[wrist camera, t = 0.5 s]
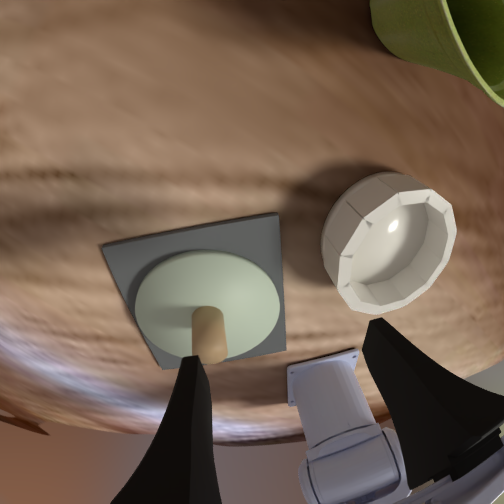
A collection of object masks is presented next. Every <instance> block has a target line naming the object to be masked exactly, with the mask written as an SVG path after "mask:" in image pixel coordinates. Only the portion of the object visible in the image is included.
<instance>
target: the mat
mask: <svg viewBox="0 0 504 504" xmlns="http://www.w3.org/2000/svg"><path fill="white" fill-rule="evenodd" d="M195 250H221V251H226V252H231V253H235V254H238V255H240V256H243V257H245V258H247V259H249V260H251V261H253V262H254V263H256V264H257V265H259V266H260V267H261V268H262V269H263V270H264V271H265V272H266V273H267V274H268V275H269V277H270V278H271V280H272V281H273V283H274V285H275V288H276V291H277V294H278V297H279V302H280V312H279V317H278V320H277V322H276V325H275V326H274V328H273V330H272V331H271V333H270V334H269V335H268V336H267V337H266V338H265V339H264V340H263V341H262V342H261V343H260V344H258V345H257V346H255V347H254V348H252V349H251V350H249V351H247V352H245V353H242V354H240V355H237V356H234V357H230V358H226V359H224V360H223V361H221V362H227V361H233V360H239V359H244V358H250V357H255V356H261V355H266V354H271V353H276V352H281V351H286V329H285V308H284V289H283V271H282V255H281V240H280V225H279V215H278V213H271V214H265V215H259V216H253V217H247V218H241V219H235V220H229V221H224V222H218V223H212V224H207V225H201V226H196V227H190V228H185V229H180V230H175V231H169V232H164V233H159V234H154V235H149V236H144V237H139V238H134V239H129V240H124V241H120V242H115V243H110V244H106V245H103V246H102V251H103V253H104V256H105V258H106V260H107V263H108V265H109V267H110V269H111V272H112V274H113V276H114V278H115V281H116V283H117V285H118V287H119V289H120V291H121V293H122V296H123V298H124V300H125V302H126V304H127V306H128V308H129V310H130V312H131V314H132V316H133V318H134V320H135V322H136V324H137V325H138V322H137V319H136V315H135V302H136V297H137V293H138V289H139V286H140V284H141V283H142V281H143V279H144V278H145V276H146V275H147V274H148V273H149V272H150V271H151V270H152V269H153V268H154V267H155V266H156V265H158V264H159V263H161V262H162V261H164V260H166V259H168V258H170V257H172V256H175V255H178V254H180V253H184V252H189V251H195ZM138 327H139V325H138ZM139 329H140V327H139ZM140 331H141V333H142V335H143V337H144V339H145V340H146V342H147V344H148V346H149V348H150V349H151V351H152V353H153V355H154V356H155V358H156V360H157V361H158V363H159V365H160V367H161V368H162V370H166V369H175V368H180V364H181V360H182V358H181V357H178V356H175V355H172V354H170V353H168V352H166V351H164V350H162V349H160V348H159V347H157V346H156V345H154V344H153V343H152V342H151V341H150V340H149V339H148V338H147V337H146V336H145V335H144V334H143V332H142V330H141V329H140ZM219 363H220V362H219ZM202 365H207V364H203V363H202Z"/></svg>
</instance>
